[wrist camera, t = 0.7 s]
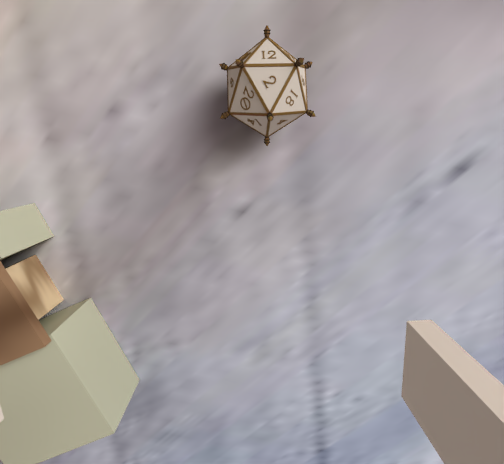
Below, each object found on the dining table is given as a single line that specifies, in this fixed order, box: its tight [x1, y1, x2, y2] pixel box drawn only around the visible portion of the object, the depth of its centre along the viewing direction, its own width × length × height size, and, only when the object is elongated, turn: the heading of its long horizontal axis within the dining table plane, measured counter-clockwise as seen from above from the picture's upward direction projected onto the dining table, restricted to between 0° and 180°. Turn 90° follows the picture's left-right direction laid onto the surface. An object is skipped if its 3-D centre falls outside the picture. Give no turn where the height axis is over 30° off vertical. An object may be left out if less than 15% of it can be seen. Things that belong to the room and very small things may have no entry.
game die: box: [220, 26, 315, 146], centre depth 30 cm, size 9×8×10 cm
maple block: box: [5, 255, 63, 320], centre depth 34 cm, size 6×6×7 cm
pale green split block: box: [0, 203, 139, 464], centre depth 35 cm, size 24×12×8 cm, turn 24°
